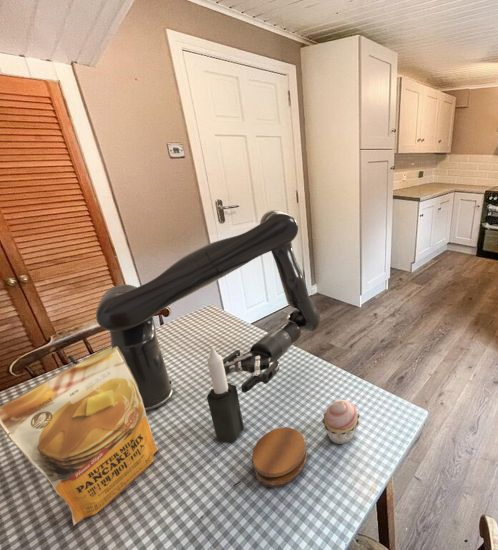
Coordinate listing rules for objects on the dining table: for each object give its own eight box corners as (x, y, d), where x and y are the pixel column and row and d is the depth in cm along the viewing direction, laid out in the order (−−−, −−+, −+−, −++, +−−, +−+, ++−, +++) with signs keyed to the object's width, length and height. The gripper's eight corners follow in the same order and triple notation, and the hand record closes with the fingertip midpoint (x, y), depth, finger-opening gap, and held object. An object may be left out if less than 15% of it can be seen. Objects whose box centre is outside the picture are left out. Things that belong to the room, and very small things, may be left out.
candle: (233, 443, 71) (214, 355, 62) (214, 439, 72) (192, 352, 63) (245, 425, 76) (229, 341, 66) (227, 422, 77) (209, 338, 67)
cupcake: (368, 434, 74) (369, 402, 70) (337, 458, 68) (336, 424, 64) (345, 411, 80) (344, 381, 76) (315, 431, 74) (312, 399, 71)
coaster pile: (243, 485, 62) (240, 470, 60) (266, 437, 73) (264, 423, 71) (298, 491, 61) (296, 477, 59) (313, 442, 72) (312, 428, 70)
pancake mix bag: (49, 524, 55) (-23, 407, 45) (150, 439, 72) (114, 339, 62) (72, 539, 53) (3, 419, 43) (171, 448, 70) (137, 345, 60)
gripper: (250, 330, 86) (202, 364, 72) (292, 341, 81) (250, 379, 67) (253, 352, 89) (208, 389, 75) (294, 363, 84) (255, 405, 70)
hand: (228, 384), depth 71 cm, fingers open, 8 cm apart
